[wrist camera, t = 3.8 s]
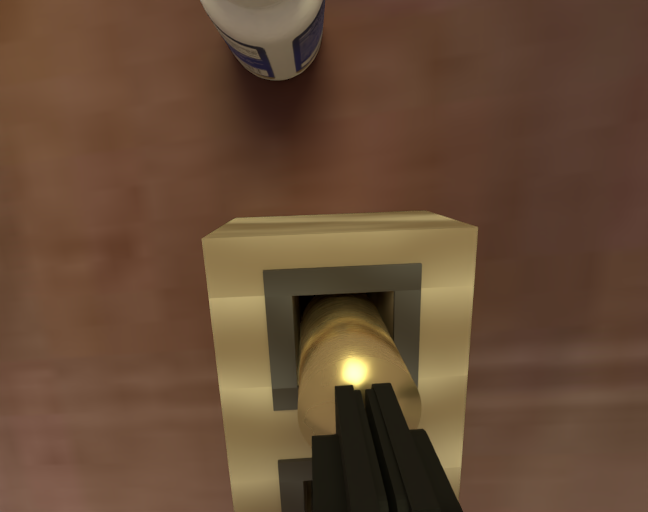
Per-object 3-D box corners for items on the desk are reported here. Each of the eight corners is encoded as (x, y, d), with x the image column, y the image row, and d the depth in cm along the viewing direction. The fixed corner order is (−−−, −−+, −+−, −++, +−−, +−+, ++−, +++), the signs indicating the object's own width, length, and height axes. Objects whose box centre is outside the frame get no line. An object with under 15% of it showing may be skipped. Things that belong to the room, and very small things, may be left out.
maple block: (416, 470, 27) (455, 576, 20) (260, 481, 26) (242, 593, 19) (425, 210, 22) (480, 227, 15) (235, 217, 22) (200, 239, 15)
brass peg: (379, 356, 18) (419, 461, 12) (303, 361, 18) (300, 468, 11) (379, 284, 17) (423, 353, 11) (299, 288, 17) (294, 360, 11)
